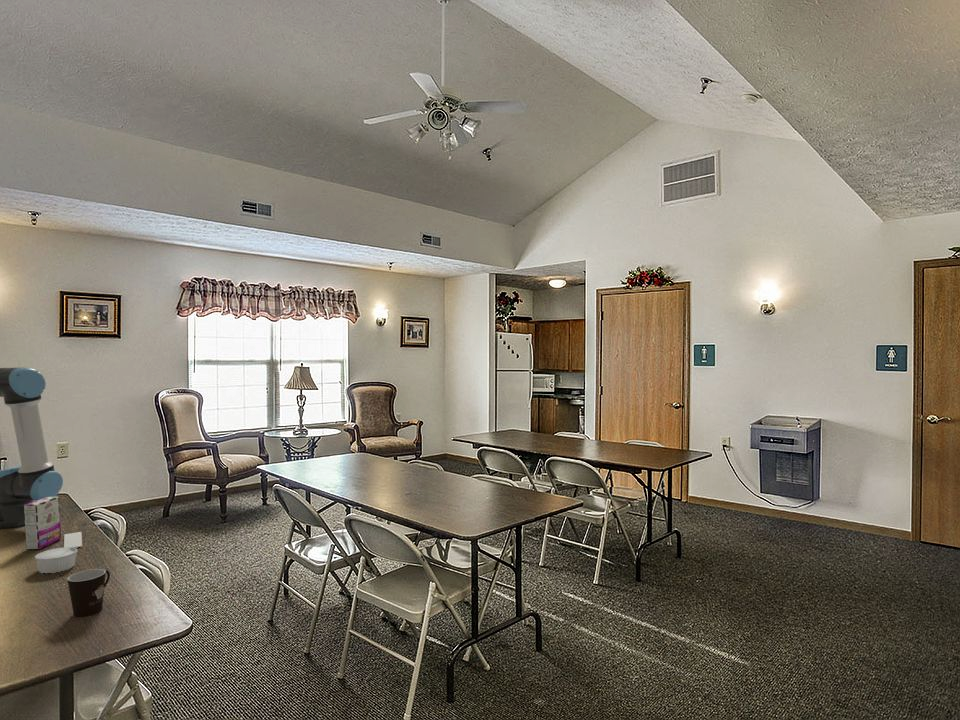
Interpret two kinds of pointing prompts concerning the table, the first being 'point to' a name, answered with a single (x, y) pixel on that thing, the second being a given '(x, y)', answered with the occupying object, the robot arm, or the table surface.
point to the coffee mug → (87, 591)
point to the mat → (73, 540)
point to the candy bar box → (42, 522)
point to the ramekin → (56, 560)
